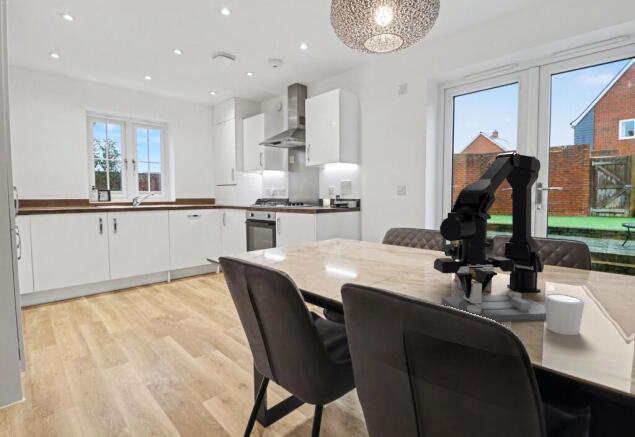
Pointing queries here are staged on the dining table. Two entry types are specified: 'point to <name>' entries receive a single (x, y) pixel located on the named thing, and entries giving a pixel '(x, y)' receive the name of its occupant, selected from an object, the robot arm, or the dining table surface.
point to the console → (500, 307)
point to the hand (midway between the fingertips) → (472, 297)
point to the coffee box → (471, 270)
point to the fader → (475, 292)
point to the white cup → (563, 313)
